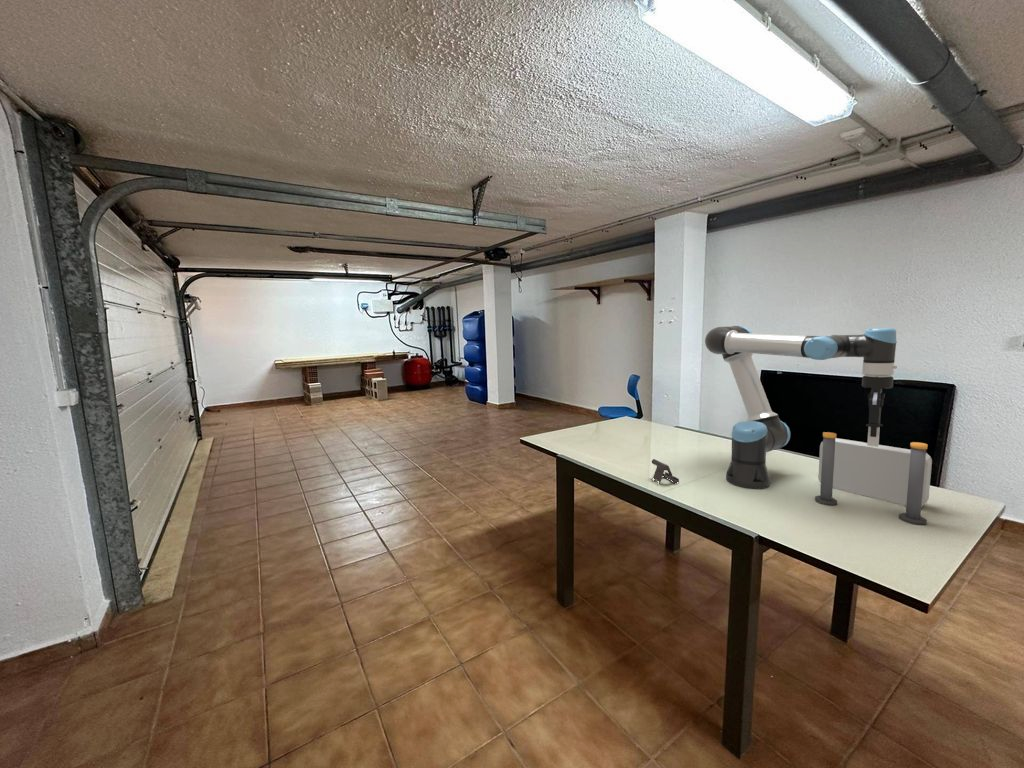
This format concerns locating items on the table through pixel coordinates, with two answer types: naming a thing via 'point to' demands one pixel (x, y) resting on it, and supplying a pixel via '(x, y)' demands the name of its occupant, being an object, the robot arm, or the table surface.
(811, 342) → the robot arm
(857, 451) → the rounded white slab
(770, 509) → the table surface
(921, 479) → the cable post
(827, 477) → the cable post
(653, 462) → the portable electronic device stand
